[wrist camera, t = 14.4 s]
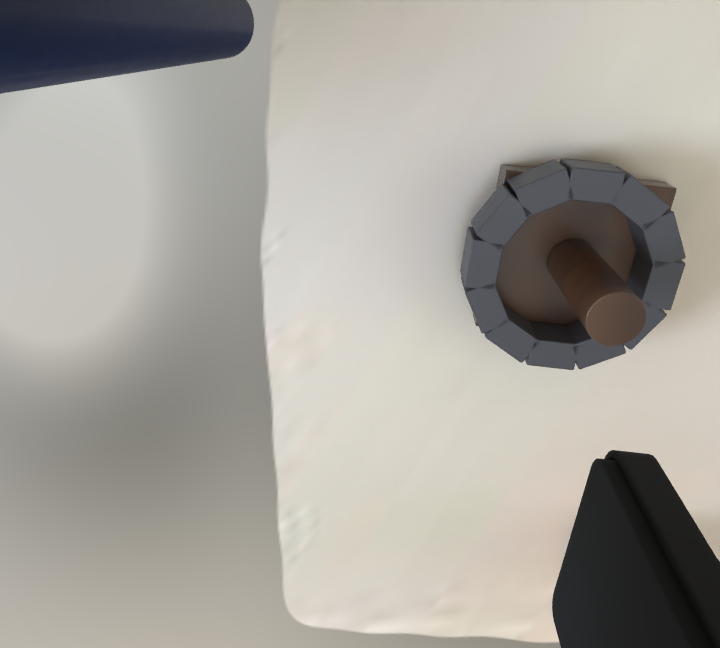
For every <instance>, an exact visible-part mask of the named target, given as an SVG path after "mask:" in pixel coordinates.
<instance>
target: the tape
mask: <svg viewBox="0 0 720 648" xmlns="http://www.w3.org/2000/svg"><path fill="white" fill-rule="evenodd" d="M507 181H508V184H509V187H510V188H508V187H507V186H506V185H504V184H501V185H500V186H499V188H498V189H497V190H496V191H495V192H494V194H493V195H492V196H491V197H490V199H489V200H488V201H487V202H486V203H485V205H484V206H483V207H482V208H481V210H480V211H479V212H478V213H477V214H476V216H475V217H474V218H473V219H472V221H471V223H472V226H473V227H468V230H467V236H466V241H465V247H464V253H463V259H462V265H461V270H460V271H461V275H462V277H461V279H462V283H463V286H464V290H465V294H466V296H467V299H468V301H469V303H470V306H471V308H472V311H473V313H474V315H475V318H476V320H477V323H478V325H479V328H480V330H481V332H482V333H485V336H486V338H487V339H488V340H490V341H491V342H493V343H494V344H495V345H497V346H498V347H500V348H501V349H502V350H504V351H505V352H507V353H508V354H510V355H511V356H512V357H514V358H515V359H517V360H518V361H519V362H523V361H524V360H525V361H526V363H527V365H532V366H541V367H550V368H559V369H568V370H573V369H574V366H575V363H576V365H577V366H578V368H579V369H582V368H585V367H588V366H591V365H594V364H597V363H600V362H602V361H605V360H608V359H611V358H614V357H617V356H620V355H622V354H625V353H626V351H625V348H624V345H625V346H626V347H627V348H629V349H633V348H634V347H635V346H636V345H637V344H638V343H639V342H640V341H641V340H642V339H643V338H644V337H645V336H646V335H647V334H648V333H649V332H650V331H651V330H652V329H653V328H654V327H655V326H656V325H657V324H658V323H659V322H660V321H661V320H662V319H663V318H665V317H666V313H665V312H664V311H663V310H662V309H665V310H671V307H672V304H673V301H674V298H675V294H676V291H677V288H678V285H679V282H680V279H681V276H682V273H683V270H684V266H685V263H684V262H683V261H682V260H681V259H684V258H685V253H684V249H683V246H682V242H681V238H680V235H679V231H678V227H677V223H676V220H675V216H674V212H673V211H671V210H670V209H669V208H670V206H669V205H668V204H667V203H665V202H664V201H663V200H662V199H660V198H659V197H658V196H657V195H656V194H654V193H653V192H652V191H651V190H649V189H648V188H647V187H646V186H645V185H643V184H642V183H641V182H640V181H638V180H637V179H636V178H635V177H634V176H632V175H631V174H629V173H627V172H626V171H624V170H622V169H621V168H619V167H617V166H616V167H615V166H613V165H611V164H609V163H600V162H591V161H582V160H573V159H564V158H563V159H561V161H560V163H559V162H557V161H556V160H552V161H549V162H547V163H545V164H542V165H540V166H537V167H535V168H533V169H530V170H528V171H526V172H523V173H521V174H519V175H516V176H514V177H511V178H509V179H508V180H507ZM570 200H574V201H583V202H592V203H601V204H610V205H613V206H614V207H615V208H616V209H618V210H619V211H620V212H621V213H623V214H624V215H625V216H626V217H627V220H628V223H629V226H630V230H631V233H632V237H633V240H634V243H635V247H636V250H637V251H636V254H635V258H634V261H633V265H632V268H631V272H630V275H629V278H628V282H627V285H628V286H629V288H630V289H631V290H632V291H633V292H634V293H635V294H636V295H637V296H638V297H639V298H640V300H641V301H642V302H643V304H644V306H645V308H646V315H647V316H646V322H645V325H644V327H643V329H642V331H641V332H640V333H639V334H638V335H637V336H636V337H635V338H634V339H632V340H631V341H629V342H627V343H625V344H622V345H617V346H607V345H603V344H600V343H598V342H596V341H595V340H593V339H592V338H591V337H590V335H589V334H588V332H587V331H586V329H585V328H584V326H583V324H582V323H581V321H580V320H579V321H576V322H573V323H571V324H568V325H565V326H563V325H554V324H545V323H536V322H529V321H528V320H526V319H525V318H524V317H522V316H521V315H520V314H518V313H517V312H515V311H514V310H513V309H511V308H510V307H509V306H507V305H506V304H504V303H503V302H502V300H501V298H500V295H499V292H498V290H497V287H496V282H497V277H498V272H499V267H500V262H501V257H502V252H503V248H504V246H505V245H506V244H507V243H508V242H509V241H510V239H511V238H512V237H513V236H514V235H515V234H516V232H517V231H518V230H519V229H520V228H521V227H522V225H523V224H524V223H525V222H526V221H527V220H528V218H529V217H530V216H533V215H535V214H538V213H540V212H543V211H545V210H548V209H550V208H552V207H555V206H557V205H560V204H562V203H565V202H567V201H570Z"/></svg>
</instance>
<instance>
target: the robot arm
mask: <svg viewBox="0 0 720 648" xmlns="http://www.w3.org/2000/svg"><path fill="white" fill-rule="evenodd" d="M552 611H553V618H554V623H555V627H556V630H557V634H558V638H559V641H560V645H561V648H720V562H719V560H718V559H717V558H716V556H715V555H714V553H713V551H712V550H711V548H710V546H709V545H708V543H707V541H706V540H705V538H704V537H703V535H702V533H701V532H700V530H699V528H698V527H697V525H696V523H695V522H694V520H693V518H692V517H691V515H690V514H689V512H688V510H687V509H686V507H685V505H684V504H683V502H682V500H681V499H680V497H679V496H678V494H677V492H676V491H675V489H674V487H673V486H672V484H671V482H670V481H669V479H668V478H667V476H666V474H665V473H664V471H663V469H662V468H661V466H660V464H659V463H658V461H657V460H656V458H655V457H654V456H653V455H650V454H643V453H634V452H625V451H616V450H612V451H609V452H608V454H607V455H606V457H605V459H596V460H595V461H594V462H593V464H592V466H591V469H590V473H589V476H588V479H587V483H586V486H585V490H584V493H583V496H582V500H581V503H580V506H579V510H578V513H577V516H576V520H575V523H574V526H573V530H572V533H571V536H570V540H569V543H568V547H567V550H566V553H565V557H564V560H563V563H562V567H561V570H560V573H559V577H558V580H557V583H556V587H555V590H554V594H553V602H552Z"/></svg>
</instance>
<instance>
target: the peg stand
mask: <svg viewBox="0 0 720 648" xmlns="http://www.w3.org/2000/svg"><path fill="white" fill-rule="evenodd" d="M530 169H533V168H528V167H519V166H510V165H501V167H500V173H499V178H498V183H497V189H498V188H499V186H500V185H501V184H504V185H506V186H507V187H508V188H510V187H509V184H508V181H507V180H508V179H509V178H511V177H514V176H516V175H519V174H521V173H523V172H526V171H528V170H530ZM637 180H638V179H637ZM638 181H640V182H641V183H642V184H643V185H645V186H646V187H647V188H648V189H649V190H651V191H652V192H653V193H654V194H656V195H657V196H658V197H659V198H660V199H662V200H663V201H664V202H665V203H667V204H668V205H669V206H670V208H669V209H670V210H671V206H672V203H673V200H674V196H675V193H676V188H675V187H673V186H671V185H669V184H667V183H665V182H656V181H647V180H638ZM497 189H496V190H497ZM636 251H637V250H636V247H635V243H634V240H633V237H632V233H631V230H630V226H629V223H628V220H627V217H626V216H625V215H624V214H623V213H621V212H620V211H619V210H618V209H616V208H615V207H614V206H613V205H610V204H601V203H592V202H583V201H574V200H570V201H567V202H565V203H562V204H560V205H557V206H555V207H552V208H550V209H548V210H545V211H543V212H540V213H538V214H535V215H533V216H530V217H529V218H528V220H527V221H526V222H525V223H524V224H523V225H522V227H521V228H520V229H519V230H518V231H517V232H516V234H515V235H514V236H513V237H512V238H511V239H510V241H509V242H508V243H507V244H506V245H505V246H504V248H503V252H502V257H501V262H500V267H499V272H498V277H497V282H496V287H497V290H498V292H499V295H500V298H501V300H502V302H503V303H504V304H506V305H507V306H509V307H510V308H511V309H513V310H514V311H515V312H517V313H518V314H520V315H521V316H522V317H524V318H525V319H526V320H528V321H529V322H536V323H545V324H554V325H563V326H565V325H568V324H571V323H573V322H576V321H579V320H580V321H581V323H582V324H583V326H584V328H585V329H586V331H587V332H588V334H589V335H590V337H591V338H592V339H593V340H595V341H596V342H598V343H600V344H603V345H607V346H617V345H622V344H625V343H627V342H629V341H631V340H632V339H634V338H635V337H636V336H637V335H638V334H639V333H640V332H641V331H642V329H643V327H644V325H645V322H646V316H647V315H646V308H645V306H644V304H643V302H642V301H641V300H640V298H639V297H638V296H637V295H636V294H635V293H634V292H633V291H632V290H631V289H630V288H629V286H628V285H627V282H628V278H629V275H630V272H631V268H632V265H633V261H634V258H635V254H636ZM473 317H474V321H475V324H476V326H479V325H478V323H477V320H476V318H475V315H474V313H473Z"/></svg>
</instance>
